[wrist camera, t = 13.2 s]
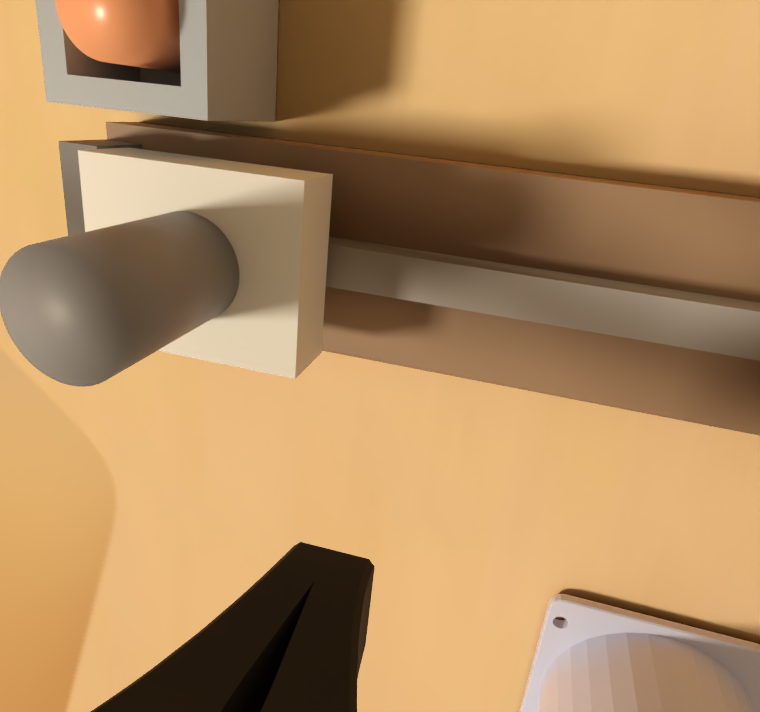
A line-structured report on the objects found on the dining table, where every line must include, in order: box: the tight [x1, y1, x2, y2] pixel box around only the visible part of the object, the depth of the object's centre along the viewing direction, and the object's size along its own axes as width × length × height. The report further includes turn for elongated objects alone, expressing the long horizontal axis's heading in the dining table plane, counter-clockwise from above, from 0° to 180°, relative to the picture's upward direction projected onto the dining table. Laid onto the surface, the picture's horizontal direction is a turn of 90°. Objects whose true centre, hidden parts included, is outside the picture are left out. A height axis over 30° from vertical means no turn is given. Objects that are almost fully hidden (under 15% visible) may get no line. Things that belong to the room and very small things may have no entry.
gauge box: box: [36, 0, 279, 122], centre depth 16 cm, size 5×5×4 cm
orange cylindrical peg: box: [55, 0, 181, 73], centre depth 15 cm, size 2×2×4 cm
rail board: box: [59, 122, 760, 435], centre depth 17 cm, size 6×22×4 cm, turn 84°
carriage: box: [0, 147, 333, 386], centre depth 14 cm, size 5×6×6 cm
